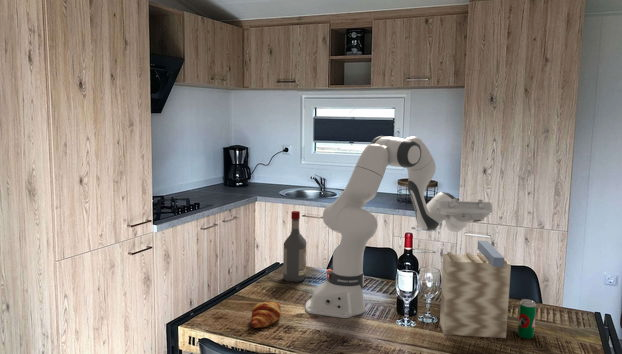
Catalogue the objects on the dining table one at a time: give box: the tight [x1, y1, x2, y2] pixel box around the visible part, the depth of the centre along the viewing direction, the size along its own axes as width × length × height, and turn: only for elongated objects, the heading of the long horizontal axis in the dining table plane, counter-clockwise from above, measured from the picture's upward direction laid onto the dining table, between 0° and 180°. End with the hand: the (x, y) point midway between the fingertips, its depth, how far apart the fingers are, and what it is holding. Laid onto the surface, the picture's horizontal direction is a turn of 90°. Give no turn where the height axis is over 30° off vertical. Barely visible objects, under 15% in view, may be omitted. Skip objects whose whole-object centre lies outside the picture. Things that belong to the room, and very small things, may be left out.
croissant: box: [249, 300, 282, 329], centre depth 176 cm, size 21×10×8 cm, turn 161°
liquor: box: [282, 210, 307, 283], centre depth 219 cm, size 9×9×30 cm
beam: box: [477, 240, 505, 267], centre depth 169 cm, size 3×22×3 cm, turn 174°
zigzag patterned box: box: [439, 251, 512, 339], centre depth 169 cm, size 20×9×26 cm, turn 84°
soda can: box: [517, 298, 537, 340], centre depth 166 cm, size 5×5×12 cm
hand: (468, 200), depth 191 cm, fingers open, 8 cm apart
